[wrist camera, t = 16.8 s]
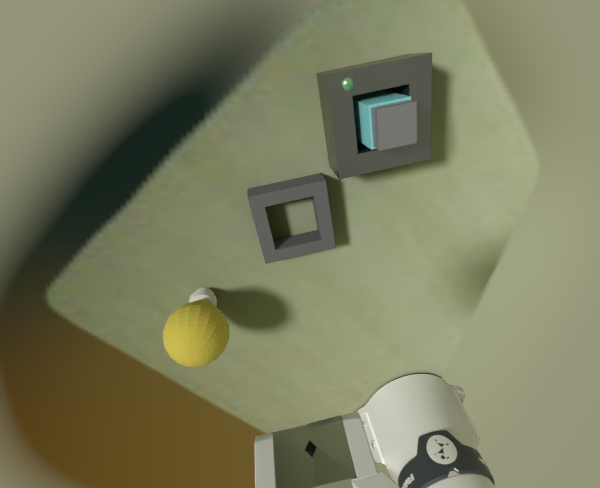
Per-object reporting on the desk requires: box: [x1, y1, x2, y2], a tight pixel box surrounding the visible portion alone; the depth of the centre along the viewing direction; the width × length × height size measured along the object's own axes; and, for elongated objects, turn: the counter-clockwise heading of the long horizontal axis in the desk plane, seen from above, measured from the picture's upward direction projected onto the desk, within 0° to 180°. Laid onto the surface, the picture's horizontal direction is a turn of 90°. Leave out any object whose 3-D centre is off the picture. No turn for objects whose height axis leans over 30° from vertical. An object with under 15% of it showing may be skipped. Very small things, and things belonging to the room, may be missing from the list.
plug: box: [352, 91, 417, 151], centre depth 31 cm, size 4×4×8 cm
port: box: [317, 53, 432, 179], centre depth 32 cm, size 9×9×5 cm
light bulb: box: [163, 288, 229, 367], centre depth 37 cm, size 7×7×10 cm
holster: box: [248, 173, 336, 264], centre depth 37 cm, size 8×8×2 cm
